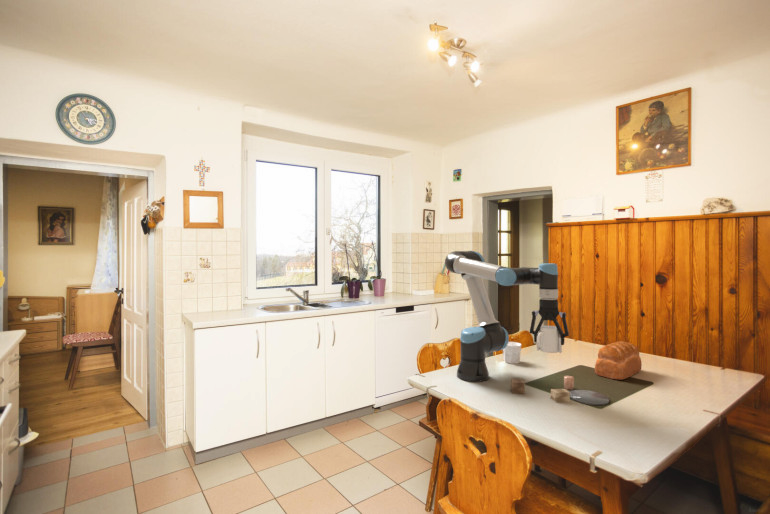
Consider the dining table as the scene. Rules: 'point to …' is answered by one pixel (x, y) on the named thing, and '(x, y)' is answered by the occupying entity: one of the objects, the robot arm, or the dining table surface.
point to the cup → (512, 353)
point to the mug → (548, 339)
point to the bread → (618, 360)
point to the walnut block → (517, 386)
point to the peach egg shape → (569, 382)
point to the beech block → (560, 395)
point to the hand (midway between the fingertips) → (549, 351)
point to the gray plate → (589, 397)
